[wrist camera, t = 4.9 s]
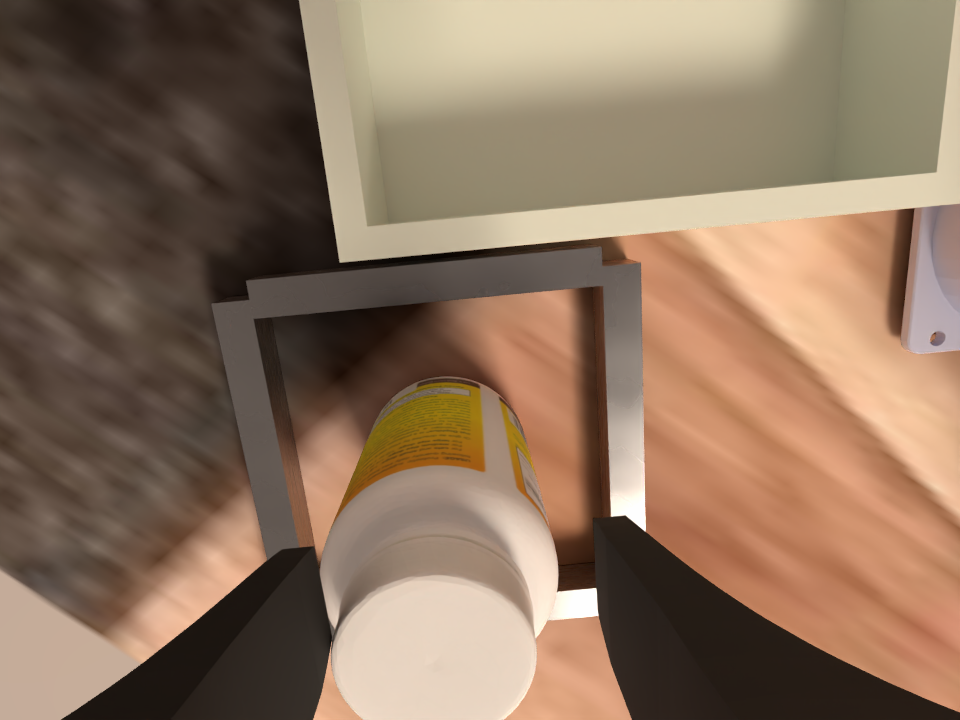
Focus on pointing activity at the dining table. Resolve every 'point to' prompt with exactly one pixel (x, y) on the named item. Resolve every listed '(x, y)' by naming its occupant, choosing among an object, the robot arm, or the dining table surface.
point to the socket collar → (419, 282)
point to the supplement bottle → (439, 560)
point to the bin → (625, 116)
